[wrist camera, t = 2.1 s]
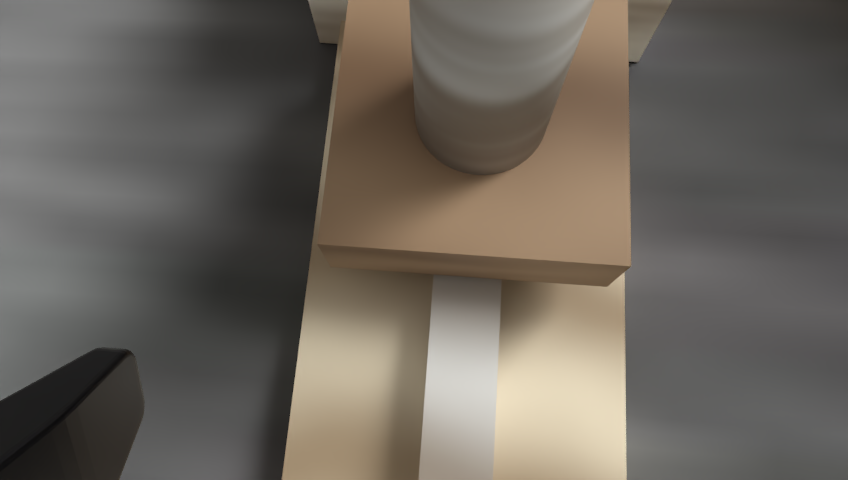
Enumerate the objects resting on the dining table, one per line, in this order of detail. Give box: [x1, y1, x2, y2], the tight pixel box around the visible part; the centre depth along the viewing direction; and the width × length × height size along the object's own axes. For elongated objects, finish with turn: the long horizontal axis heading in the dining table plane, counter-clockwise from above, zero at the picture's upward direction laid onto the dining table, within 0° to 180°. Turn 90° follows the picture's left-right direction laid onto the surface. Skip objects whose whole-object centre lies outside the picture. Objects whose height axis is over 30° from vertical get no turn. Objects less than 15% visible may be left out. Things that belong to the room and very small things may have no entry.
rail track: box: [282, 0, 672, 480], centre depth 19 cm, size 32×12×8 cm, turn 176°
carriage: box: [317, 0, 631, 287], centre depth 15 cm, size 8×8×10 cm
